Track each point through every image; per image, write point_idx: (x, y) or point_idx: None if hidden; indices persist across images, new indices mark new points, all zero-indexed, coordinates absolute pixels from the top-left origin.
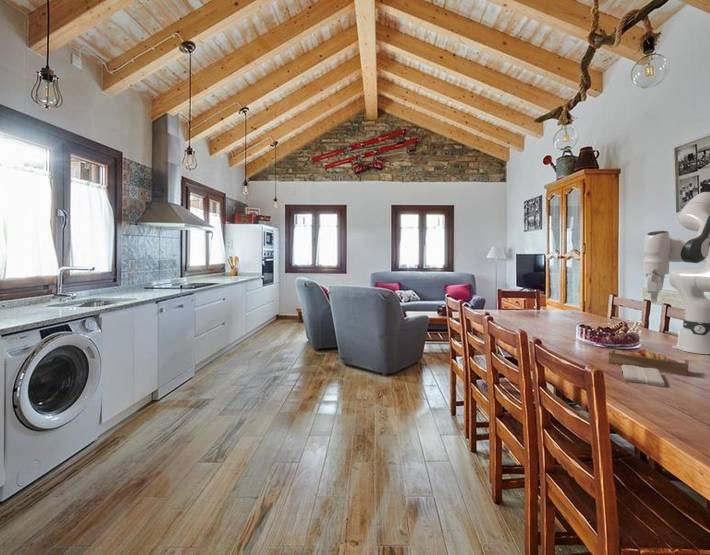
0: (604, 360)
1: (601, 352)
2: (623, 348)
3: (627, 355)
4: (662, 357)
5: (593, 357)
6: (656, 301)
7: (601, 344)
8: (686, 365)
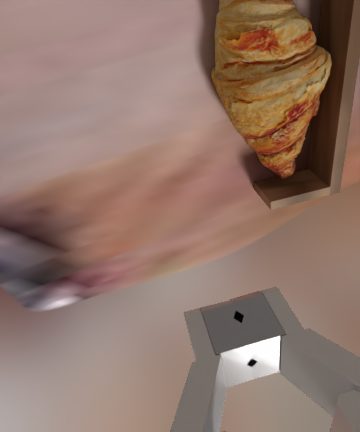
0: None
1: (170, 250)
2: (19, 246)
3: (346, 137)
4: (297, 26)
5: (265, 230)
6: (268, 298)
7: (33, 306)
8: None
